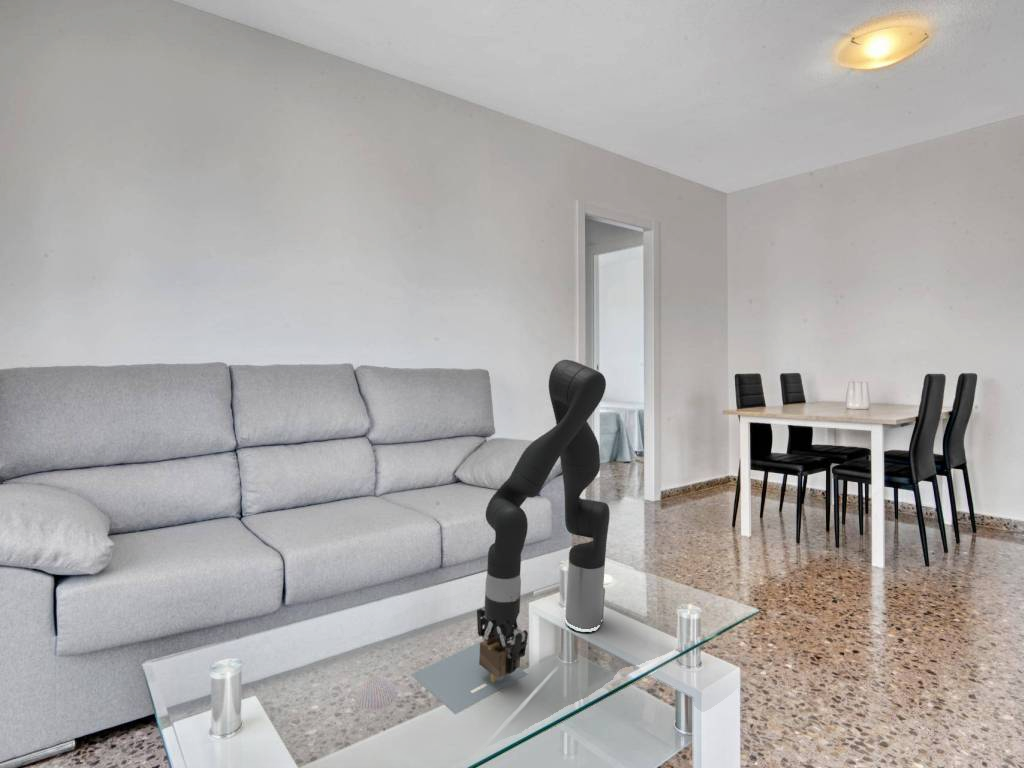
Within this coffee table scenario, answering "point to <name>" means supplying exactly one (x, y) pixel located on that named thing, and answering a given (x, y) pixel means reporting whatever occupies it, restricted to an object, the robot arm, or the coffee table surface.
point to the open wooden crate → (494, 656)
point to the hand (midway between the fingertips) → (499, 664)
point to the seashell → (376, 693)
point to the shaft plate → (463, 679)
